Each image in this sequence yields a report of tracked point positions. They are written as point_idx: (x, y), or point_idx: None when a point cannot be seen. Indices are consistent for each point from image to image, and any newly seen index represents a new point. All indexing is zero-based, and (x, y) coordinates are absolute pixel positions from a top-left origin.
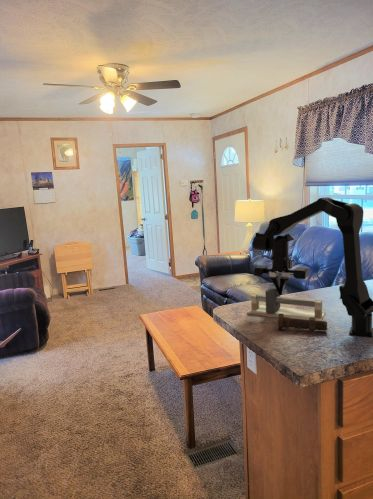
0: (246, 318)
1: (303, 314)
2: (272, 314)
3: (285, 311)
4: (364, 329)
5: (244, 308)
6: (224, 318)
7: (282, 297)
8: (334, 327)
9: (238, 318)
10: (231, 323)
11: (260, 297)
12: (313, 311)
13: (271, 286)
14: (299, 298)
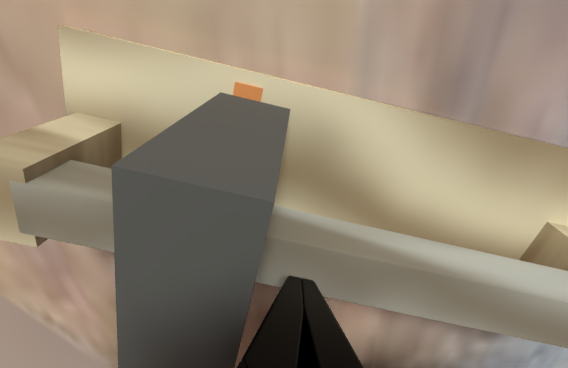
0: (113, 282)
1: (452, 232)
2: None
3: (331, 186)
4: None
5: (10, 108)
6: (4, 289)
7: (315, 269)
8: (562, 352)
9: (72, 284)
10: (74, 338)
11: (87, 236)
12: (550, 169)
13: (117, 213)
14: (494, 289)
